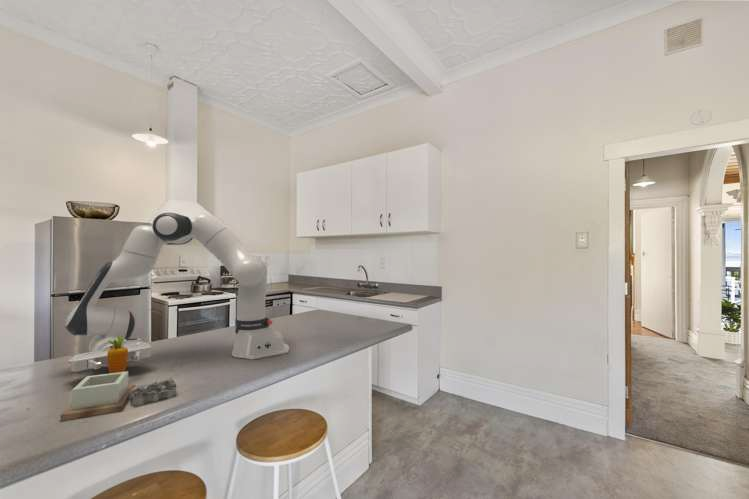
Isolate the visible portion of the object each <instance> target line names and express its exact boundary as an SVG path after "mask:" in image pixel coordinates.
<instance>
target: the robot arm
mask: <svg viewBox="0 0 749 499" xmlns="http://www.w3.org/2000/svg"><path fill="white" fill-rule="evenodd" d="M193 239H195V240H197V241H198V242H199V243H200V244H201V245H202V246H203V247H204V248H205V249H206V250H207V251H208V252H210V253H211V254H212V255H213V256H214V257H215V258H216V259H217V260H218V261H219V262H220V263H221V264H222V265H223V267H225V269H226V270H227V272H229V273H230V275H231V276H232V277H233V278H234V279H235V280H236V281H237V283H238V290H237V297H236V319H235V321H234V333H235V337H234V344H233V347H232V350H231V351H232V352H231V356H232V357H234V358H239V359H245V360H256V359H257V360H258V359H261V358H262V359H263V358H267V357H268V358H269V357H274V356H278V355H284V354H287V353H289V352H290V347H289V345H288V344H287V343H285V342H284V337H283V335H282V333H281V332H280V331H278V330H276V329H275V328H274V327H272V326H271V325H273V320H272V319H271V318H269V317H266V297H267V296H266V295H267V285H268V284H267V282H268V280H267V279H268V267H267V265H266V264H267V263H265V261H263V260H262V259H260V258H258V257H256V256H254V254H252V253H251V251H250V250H248V248H247V247H246V246H245V245H244V244H243V243H242V241H241V240H240V239H238V238H237V236H236V235H235V234H233V232H231V231H230V229H229V228H227V227H226V226H225V225H224V224H223V223H222V222H221V221H219V220H218V219H216V218H215V217H214V216H212V215H211V214H209V213H200V214H197V215H195V216H194V217H193V218H189V216H187V215H186V216H185V215H184V214H183V215H182V214H178V213H175V212H163V213H160V214H158V215H157V216H156V217H155V218H154V219H153V221H152V226H151V225H146V224H145V225H138V226H135V227H134V229H132V231H131V232H130V234H129V236H128V237H127V239H126V241H125V243H124V245H123V247H122V250H121V253H120V254H119V255H118V256H117V257H116V258H115V259H114V260H113V261H108V262H106V263H105V264H104V265H103V266H102V267H101V268H100V270H99V271H98V272H97V273H96V275H95V277H94V278H93V280H92V281H91V282H90V284H89V285H88V287H87V289H86V290H85V292H84V294H83V295H82V297H81V298H80V299H79V301H78V303H77V304H76V306H75V307H74V308H73V309H72V310H71V311H70V313H69V314H68V316H67V317H66V320H65V325H64V327H65V329H66V330H67V331H68V333H70V334H71V335H72V336H94V337H93V338H91V340H90V341H89V345H88V351H89V352H84V353H83V352H82V353H78V354H76V355H73V356H72V358H69V359H68V361H67V362H68V364H70V365H71V372H82V371H86V370H91V369H94V370H97V369H98V370H99V369H101V368H102V367H104V368H106V367H107V368H108V351H109V350H110V349H112V348H114V346H113V344H111V343H110V342H108V341H109V340H111V341H113V340H114V339H116V341H117V342H118V335H122V337H123V338H124V339H123V341H122V343H121V347H126V348H127V349H128V358H127V362H130V361H133V362H138V361H140V360H142V359H146V358H149V357H151V356H152V352H153V350H152V345H151V344H149V343H148V342H146V341H142V339H141V338H131V336H132V334H133V332H134V329H135V323H136V319H135V317H134V315H133V313H132V312H131V311H130V310H126V309H119V308H107V307H98V306H95V305H96V303H97V302H98V300H99V298H100V297H101V295H102V294H103V292H104V290H105V289H106V287H107V286H108V285H110V284H112V283H113V282H116V281H120V280H128V279H135V278H140V277H143V276H146V275H148V274H149V273H150V272H152V270H153V269H154V267H155V265H156V262H157V260H158V257H159V254H160V252H161V249H162V248H163V247H164V246H165V245H167V246H168V245H169V246H172V245H177V246H179V245H180V246H181V245H186V244H188V243H190V242H192V240H193ZM113 342H114V341H113Z"/></svg>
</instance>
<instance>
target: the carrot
mask: <svg viewBox="0 0 749 499" xmlns="http://www.w3.org/2000/svg"><path fill="white" fill-rule="evenodd" d="M123 339H124V338H123V337H122V335H118V342H117V341H116V339H114V340H113V341H114V342H113V341H111V340H109V341H108V342H110V343H111V344H113V346H114V348H112V349H110V350H109V351H108V367H107V368H108V372H109V373H108V374H110V373H118V372H126V370H127V365H128V361H127V358H128V349H127V348H126V347H121V343H122V341H123Z"/></svg>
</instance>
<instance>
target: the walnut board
mask: <svg viewBox="0 0 749 499" xmlns="http://www.w3.org/2000/svg"><path fill="white" fill-rule="evenodd" d="M134 387H136V384H130V385H129V384H128V389H127V391H126V392H125V394H124V395H123V397H122V398H121V399H120V401H119V402H118V403H112V404H105V405H99V406H93V407H86V408H80V409H73V410H72V403H70V405H69V406H68V407H66V409H65V410H64V411H63V412H62V413H61V414H60V422H65V421H70V420H75V419H76V420H77V419H83V418H84V419H85V418H89V417H95V416H101V415H107V414H112V413H118V412H119V413H120V412H123V410H124V408H125V407H126V406H127V404H128V402H129V401H130V400H131V398H130V396H131V393H130V392H131V391H130V390H131V389H133V388H134Z"/></svg>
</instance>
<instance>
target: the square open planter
mask: <svg viewBox="0 0 749 499" xmlns="http://www.w3.org/2000/svg"><path fill="white" fill-rule="evenodd" d="M128 386H129V371H128V370H127V371H126V370H125V372H118V373H103V374H96V375H95V374H94V375H88V376H85V377H84V378H83V379H82V380H81V381H80V382H79V383H78V384H77V385H75V387H74V388H72V390H71V404H72V410H73V409H80V408H86V407H93V406H99V405H105V404H112V403H118V402H119V401H120V399H121V398H122V397H123V395H124V394H125V392H126V391H127V389H128Z"/></svg>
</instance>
